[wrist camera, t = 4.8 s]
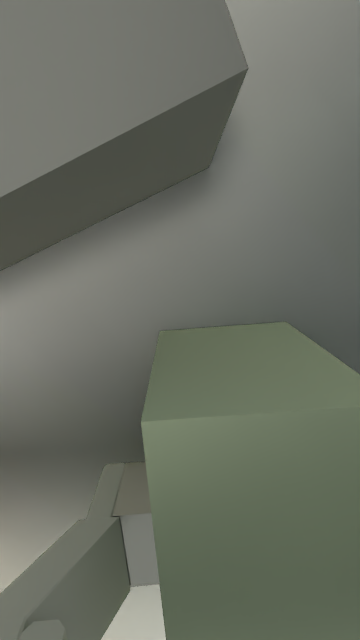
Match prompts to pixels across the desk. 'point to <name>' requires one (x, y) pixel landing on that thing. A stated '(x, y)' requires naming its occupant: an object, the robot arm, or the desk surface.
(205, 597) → the sage brick
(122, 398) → the desk surface
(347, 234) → the desk surface
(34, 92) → the charcoal brick
